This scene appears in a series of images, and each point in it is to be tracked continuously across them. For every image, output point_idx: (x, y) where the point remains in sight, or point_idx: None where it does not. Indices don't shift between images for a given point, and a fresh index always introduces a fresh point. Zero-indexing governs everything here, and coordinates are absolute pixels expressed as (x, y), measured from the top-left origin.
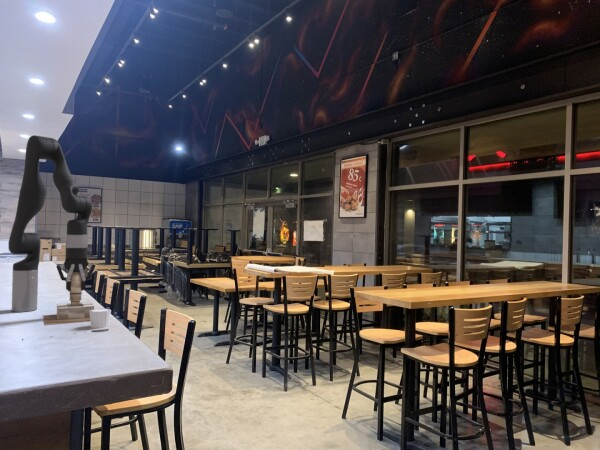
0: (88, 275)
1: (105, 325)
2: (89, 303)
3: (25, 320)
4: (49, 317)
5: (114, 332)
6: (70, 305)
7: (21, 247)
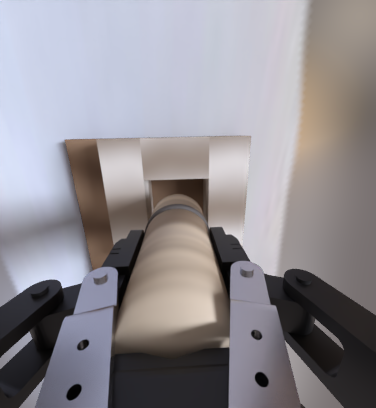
0: (298, 352)
1: None
2: (237, 186)
3: (13, 133)
4: (96, 196)
5: None
6: (159, 179)
7: None
